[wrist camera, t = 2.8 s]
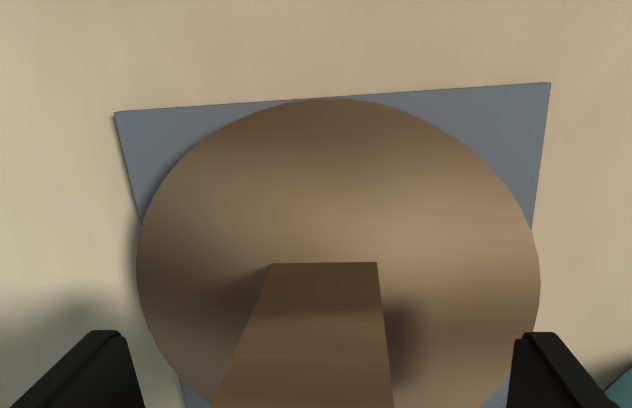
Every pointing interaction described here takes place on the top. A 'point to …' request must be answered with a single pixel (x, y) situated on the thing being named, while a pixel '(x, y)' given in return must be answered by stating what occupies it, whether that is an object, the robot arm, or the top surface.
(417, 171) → the lid
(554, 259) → the top surface
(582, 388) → the robot arm
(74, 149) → the top surface
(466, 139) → the mat
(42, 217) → the top surface
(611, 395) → the bowl
